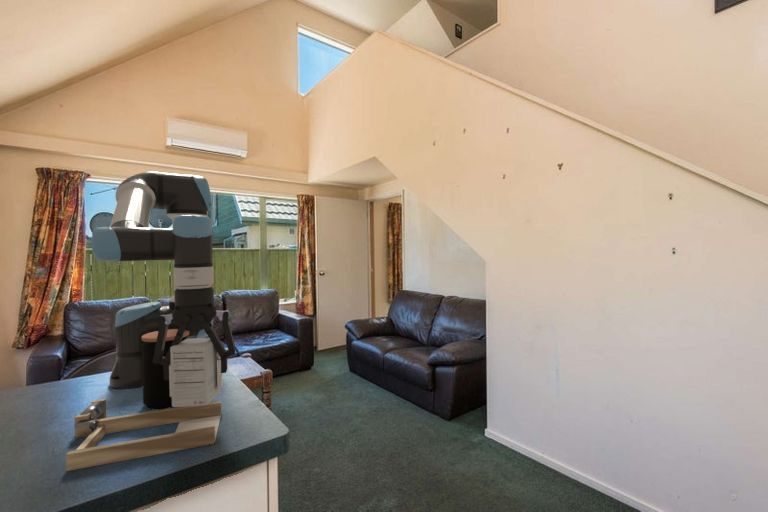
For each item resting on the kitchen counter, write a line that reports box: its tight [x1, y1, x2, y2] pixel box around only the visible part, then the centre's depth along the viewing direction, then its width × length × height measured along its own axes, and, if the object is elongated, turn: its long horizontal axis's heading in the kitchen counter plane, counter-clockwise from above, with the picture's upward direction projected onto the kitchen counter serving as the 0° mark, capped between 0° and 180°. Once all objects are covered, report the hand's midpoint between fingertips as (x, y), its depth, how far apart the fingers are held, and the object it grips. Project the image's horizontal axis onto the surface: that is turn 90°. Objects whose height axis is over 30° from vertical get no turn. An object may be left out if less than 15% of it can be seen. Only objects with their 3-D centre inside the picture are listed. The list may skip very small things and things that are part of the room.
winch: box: [73, 398, 108, 439], centre depth 77 cm, size 12×5×5 cm, turn 20°
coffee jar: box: [142, 329, 189, 410], centre depth 91 cm, size 11×11×18 cm
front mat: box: [174, 414, 222, 440], centre depth 76 cm, size 11×8×1 cm
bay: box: [65, 400, 223, 472], centre depth 73 cm, size 14×24×3 cm, turn 110°
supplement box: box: [170, 337, 222, 408], centre depth 76 cm, size 7×7×13 cm
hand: (197, 390), depth 76 cm, fingers closed on supplement box, 8 cm apart
